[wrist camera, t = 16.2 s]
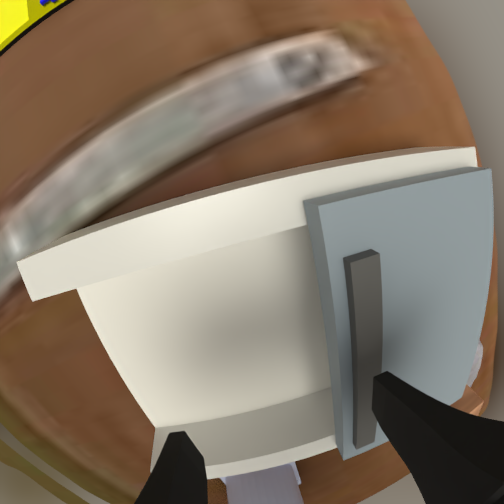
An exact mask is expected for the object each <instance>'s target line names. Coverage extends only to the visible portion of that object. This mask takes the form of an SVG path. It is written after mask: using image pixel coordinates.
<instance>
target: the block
mask: <svg viewBox="0 0 504 504" xmlns="http://www.w3.org/2000/svg"><path fill="white" fill-rule="evenodd" d="M483 402H484V401H483V400H482V399H481V398H480V397H479V396H478V395H477V394H476V393H475V392H474V391H473V390H472V389H471V388H470V387H469V386H468V385H467V384H466V387H465V390H464V392H463V395H462V397H461V398H460V399H458V400H457V401H456V402H454V403H453V404H451V405H450V406H451V407H454V408H456V409H459V410H461V411H464V412H467V413H470V414H473V415H476V416H478V414H479V412H480V409H481V407H482V404H483Z"/></svg>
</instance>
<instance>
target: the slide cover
mask: <svg viewBox="0 0 504 504" xmlns="http://www.w3.org/2000/svg"><path fill="white" fill-rule="evenodd" d="M303 203H304V208H305V213H306V218H307V223H308V228H309V234H310V239H311V245H312V250H313V256H314V262H315V268H316V274H317V280H318V286H319V293H320V300H321V306H322V313H323V321H324V328H325V336H326V344H327V352H328V361H329V370H330V379H331V389H332V400H333V412H334V425H335V440H336V445H337V447H338V450H339V452H340V454H341V456H342V458H343V460H346V459H348V458H351V457H353V456H356V455H358V454H361V453H363V452H365V451H368V450H370V449H372V448H374V447H376V446H379V445H381V444H383V443H385V442H387V441H389V439H388V438H387V436H386V435H385V434H384V432H383V431H382V429H381V427H380V425H379V423H378V421H377V419H376V417H375V415H374V413H373V411H372V393H373V377H374V376H377V375H379V374H381V373H383V372H385V371H389V372H390V373H392V374H393V375H395V376H397V377H398V378H400V379H401V380H403V381H405V382H406V383H408V384H410V385H411V386H413V387H415V388H416V389H418V390H420V391H422V392H423V393H425V394H427V395H429V396H431V397H433V398H434V399H436V400H438V401H440V402H443V403H445V404H447V405H449V406H450V405H451V404H453V403H454V402H456V401H457V400H458V399H460V398H461V397H462V395H463V392H464V390H465V387H466V384H467V381H468V378H469V375H470V371H471V368H472V365H473V361H474V358H475V354H476V350H477V346H478V342H479V338H480V334H481V329H482V325H483V320H484V314H485V309H486V303H487V297H488V290H489V282H490V274H491V263H492V250H493V219H494V217H493V186H492V172H491V168H482V167H471V166H469V167H463V168H457V169H452V170H446V171H441V172H435V173H430V174H425V175H419V176H414V177H409V178H404V179H399V180H394V181H389V182H384V183H380V184H375V185H370V186H366V187H361V188H356V189H352V190H347V191H343V192H339V193H334V194H330V195H325V196H321V197H317V198H313V199H308V200H304V201H303Z"/></svg>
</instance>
